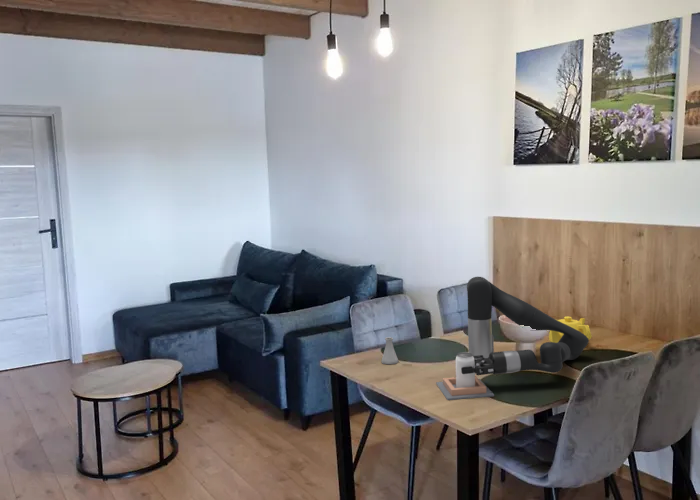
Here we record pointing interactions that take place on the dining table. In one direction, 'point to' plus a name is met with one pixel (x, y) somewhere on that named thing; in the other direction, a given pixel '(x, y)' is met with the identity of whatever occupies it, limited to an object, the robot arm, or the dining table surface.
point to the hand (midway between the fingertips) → (458, 367)
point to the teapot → (575, 324)
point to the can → (461, 379)
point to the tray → (463, 389)
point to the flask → (389, 353)
